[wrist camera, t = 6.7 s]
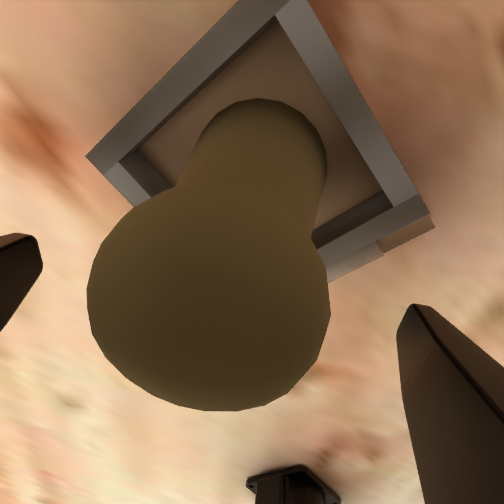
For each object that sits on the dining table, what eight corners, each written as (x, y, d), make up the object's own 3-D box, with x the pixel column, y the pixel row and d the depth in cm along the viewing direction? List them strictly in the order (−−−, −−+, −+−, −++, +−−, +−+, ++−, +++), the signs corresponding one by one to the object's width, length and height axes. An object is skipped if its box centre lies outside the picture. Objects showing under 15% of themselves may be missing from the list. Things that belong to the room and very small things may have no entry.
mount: (430, 219, 16) (450, 249, 14) (252, 310, 21) (245, 344, 19) (286, -28, 12) (282, -44, 10) (104, 152, 17) (71, 169, 15)
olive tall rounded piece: (307, 74, 13) (309, 150, 4) (341, 211, 16) (389, 445, 7) (172, 126, 15) (-46, 262, 6) (224, 241, 18) (134, 460, 8)
